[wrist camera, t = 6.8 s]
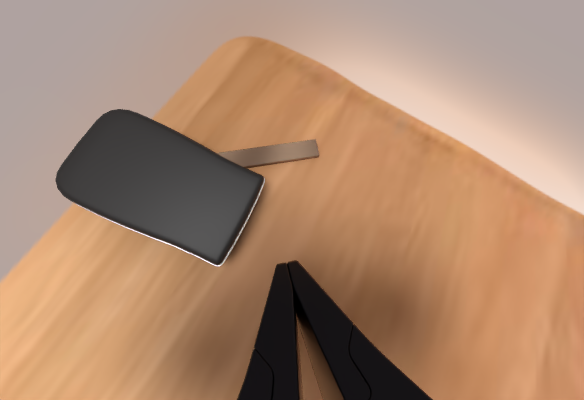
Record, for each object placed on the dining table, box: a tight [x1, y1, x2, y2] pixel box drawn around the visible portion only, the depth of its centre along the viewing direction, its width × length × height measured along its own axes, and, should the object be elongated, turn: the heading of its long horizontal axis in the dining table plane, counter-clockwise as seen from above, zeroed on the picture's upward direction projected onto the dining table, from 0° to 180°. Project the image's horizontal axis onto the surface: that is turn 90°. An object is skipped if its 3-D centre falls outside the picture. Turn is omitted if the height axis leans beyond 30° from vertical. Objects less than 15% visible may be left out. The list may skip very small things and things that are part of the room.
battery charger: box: [56, 109, 265, 267], centre depth 16 cm, size 7×4×11 cm
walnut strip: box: [217, 139, 319, 168], centre depth 19 cm, size 10×2×1 cm, turn 101°
